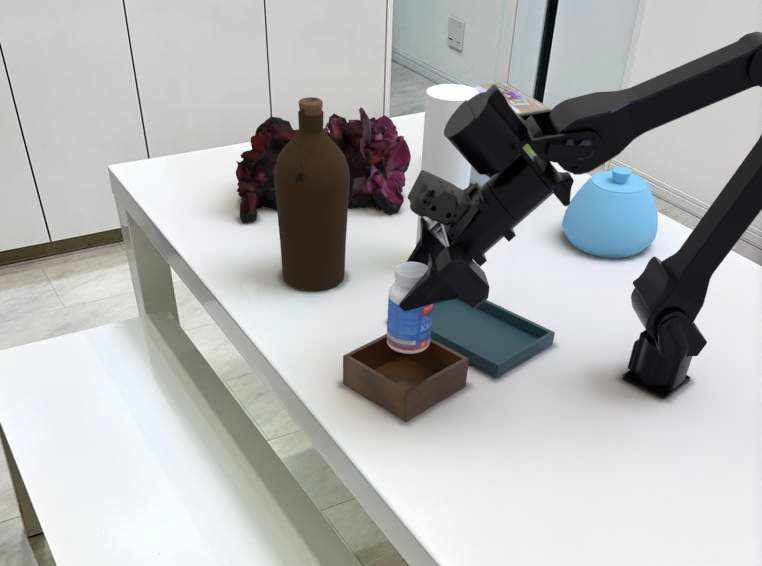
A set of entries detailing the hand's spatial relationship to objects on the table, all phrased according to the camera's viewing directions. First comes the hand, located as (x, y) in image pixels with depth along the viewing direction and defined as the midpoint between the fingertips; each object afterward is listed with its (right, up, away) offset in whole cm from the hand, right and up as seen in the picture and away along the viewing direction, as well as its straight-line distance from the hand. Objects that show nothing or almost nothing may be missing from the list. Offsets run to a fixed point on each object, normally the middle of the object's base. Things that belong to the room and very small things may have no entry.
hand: (399, 296), depth 102 cm
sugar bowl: (+36, +20, +40) cm, 58 cm away
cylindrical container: (+8, +14, +33) cm, 37 cm away
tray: (+11, 0, +18) cm, 21 cm away
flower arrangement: (-11, +31, +50) cm, 60 cm away
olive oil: (-12, +11, +29) cm, 34 cm away
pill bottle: (+1, -5, +5) cm, 7 cm away
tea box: (+20, +37, +57) cm, 71 cm away
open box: (+1, -9, +9) cm, 13 cm away
